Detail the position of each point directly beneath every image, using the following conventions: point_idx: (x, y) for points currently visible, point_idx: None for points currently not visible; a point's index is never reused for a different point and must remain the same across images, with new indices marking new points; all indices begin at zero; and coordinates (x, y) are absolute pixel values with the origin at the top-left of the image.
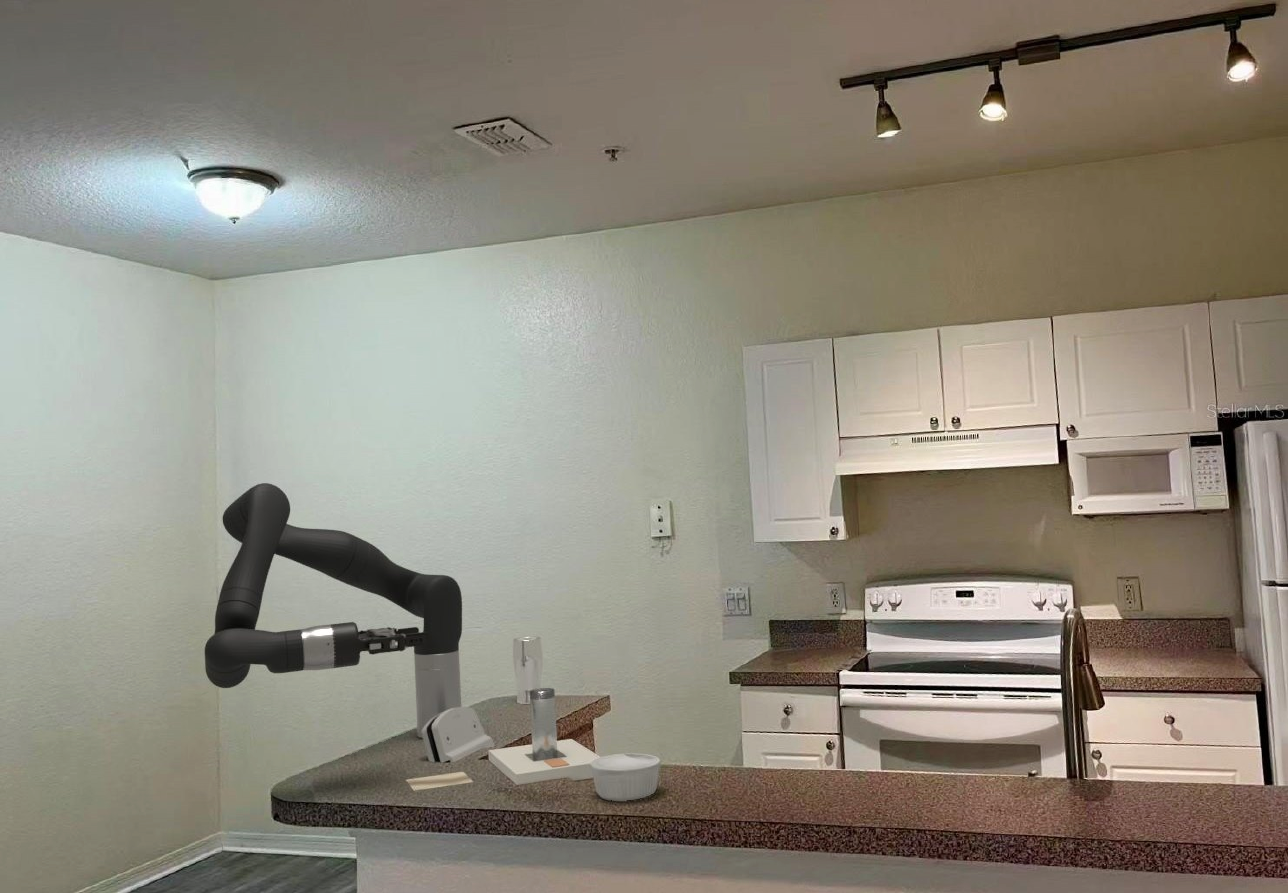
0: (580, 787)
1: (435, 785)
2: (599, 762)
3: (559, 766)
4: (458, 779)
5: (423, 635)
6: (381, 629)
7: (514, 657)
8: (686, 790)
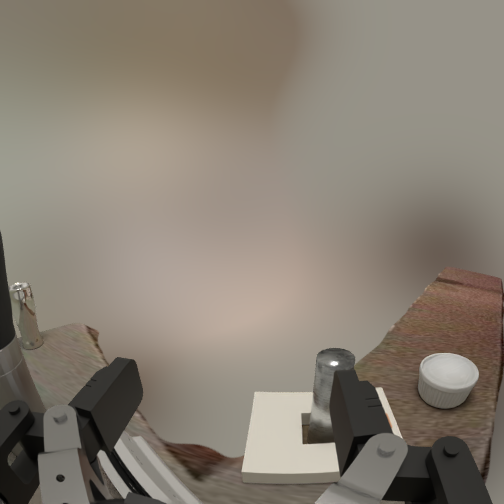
0: (413, 420)
1: None
2: (452, 382)
3: (390, 421)
4: None
5: (371, 385)
6: (85, 493)
7: (14, 307)
8: None
